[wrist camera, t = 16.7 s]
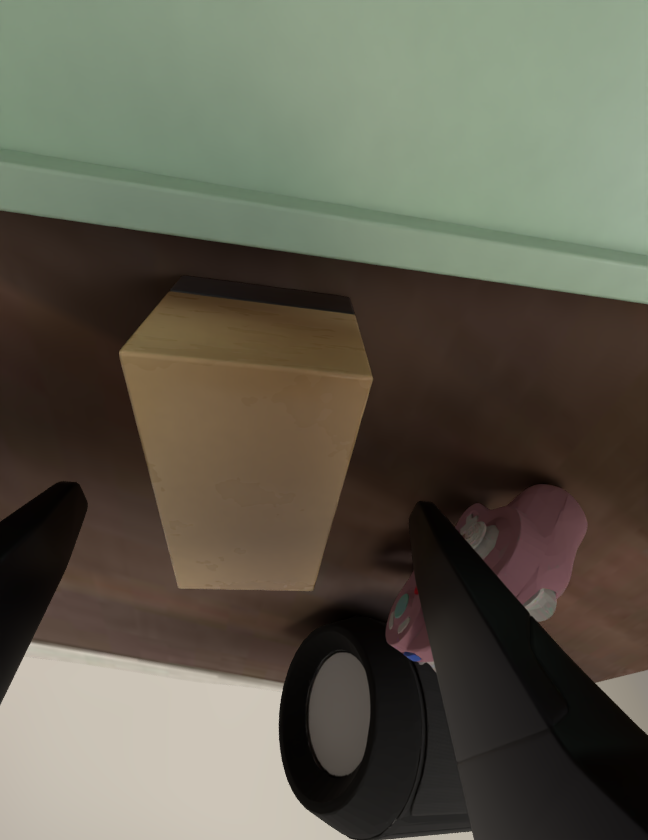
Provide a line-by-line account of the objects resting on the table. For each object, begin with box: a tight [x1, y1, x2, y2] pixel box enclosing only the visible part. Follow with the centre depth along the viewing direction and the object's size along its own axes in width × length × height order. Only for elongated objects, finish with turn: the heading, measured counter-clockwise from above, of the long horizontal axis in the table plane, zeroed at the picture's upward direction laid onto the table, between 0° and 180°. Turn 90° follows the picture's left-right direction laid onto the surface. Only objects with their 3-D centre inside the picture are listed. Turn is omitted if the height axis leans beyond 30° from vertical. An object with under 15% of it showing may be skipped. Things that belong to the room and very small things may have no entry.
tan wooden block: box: [119, 275, 373, 591], centre depth 11 cm, size 5×9×4 cm, turn 172°
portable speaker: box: [279, 615, 472, 840], centre depth 25 cm, size 26×10×10 cm, turn 48°
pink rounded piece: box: [385, 484, 587, 672], centre depth 16 cm, size 10×5×7 cm, turn 157°
